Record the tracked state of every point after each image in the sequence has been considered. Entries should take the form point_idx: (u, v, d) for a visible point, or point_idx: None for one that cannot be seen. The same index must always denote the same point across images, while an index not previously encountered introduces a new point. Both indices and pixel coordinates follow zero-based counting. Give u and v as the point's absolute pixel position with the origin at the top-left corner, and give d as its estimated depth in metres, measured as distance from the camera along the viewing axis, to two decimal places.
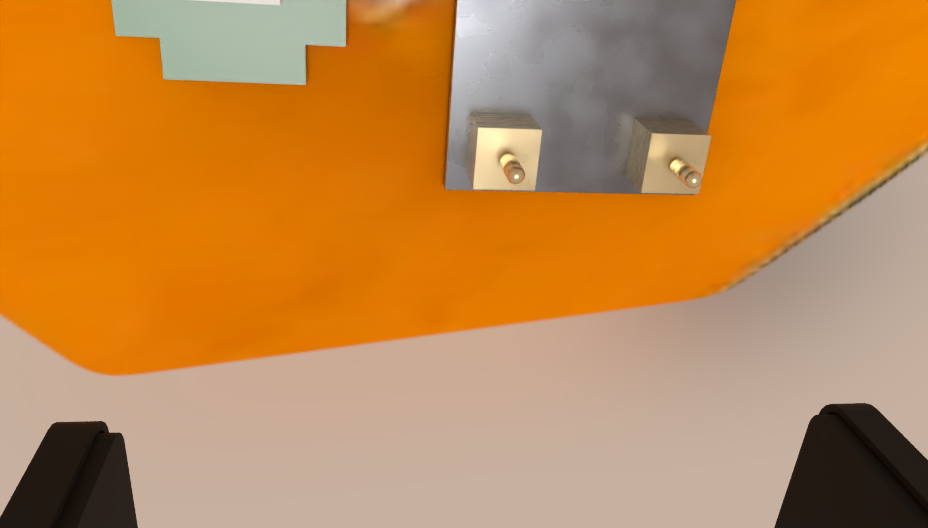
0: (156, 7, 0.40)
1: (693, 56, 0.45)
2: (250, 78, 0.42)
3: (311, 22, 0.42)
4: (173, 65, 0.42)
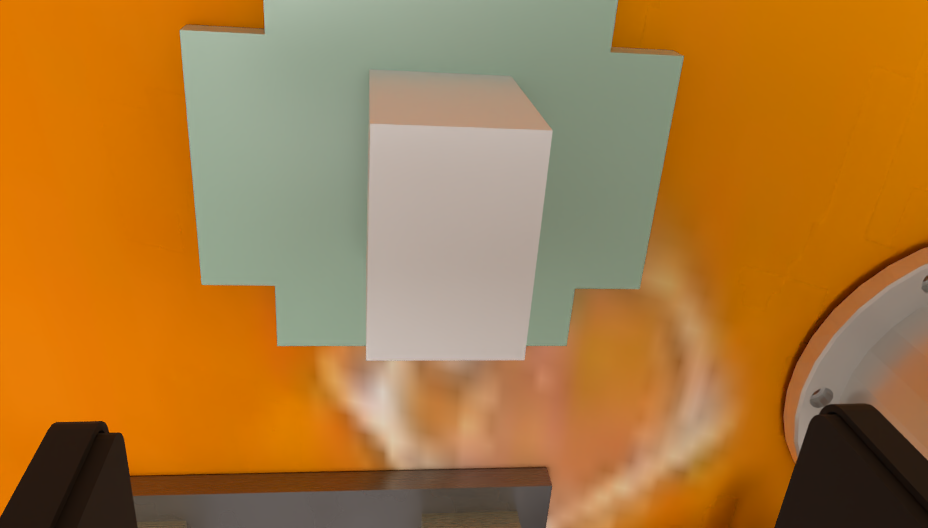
0: (324, 37, 0.21)
1: None
2: (202, 194, 0.22)
3: (313, 295, 0.24)
4: (210, 53, 0.21)
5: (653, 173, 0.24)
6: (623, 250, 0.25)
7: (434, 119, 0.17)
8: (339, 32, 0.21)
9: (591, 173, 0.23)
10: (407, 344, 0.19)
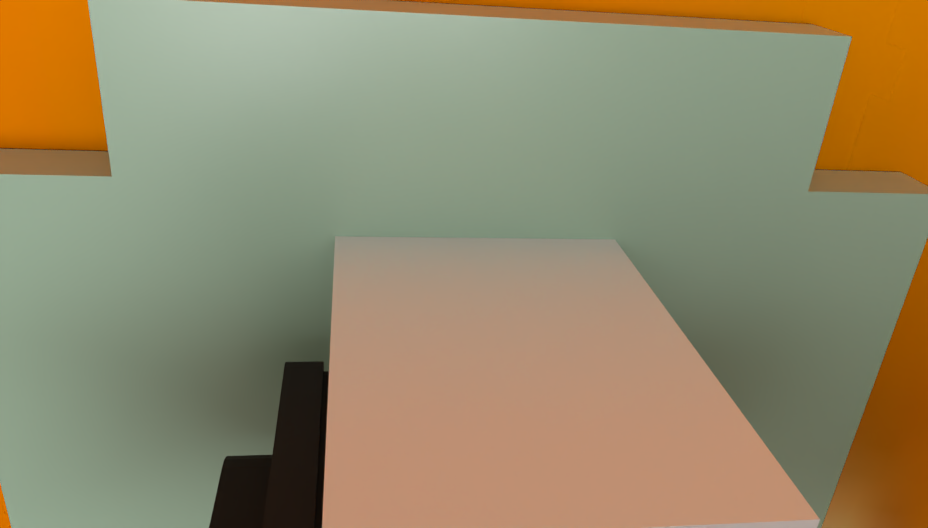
0: (238, 178, 0.10)
1: None
2: (13, 464, 0.12)
3: None
4: None
5: (857, 391, 0.13)
6: None
7: (498, 485, 0.06)
8: (271, 169, 0.10)
9: (748, 396, 0.13)
10: None
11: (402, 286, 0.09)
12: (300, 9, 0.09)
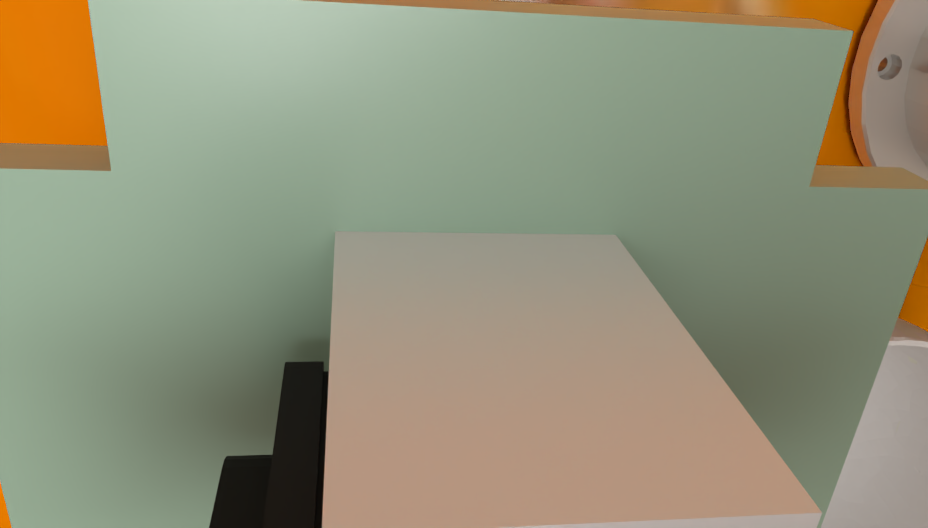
0: (239, 173, 0.10)
1: None
2: (13, 461, 0.12)
3: None
4: None
5: (858, 387, 0.13)
6: None
7: (499, 478, 0.06)
8: (270, 163, 0.10)
9: (749, 392, 0.13)
10: None
11: (402, 281, 0.09)
12: (300, 3, 0.09)
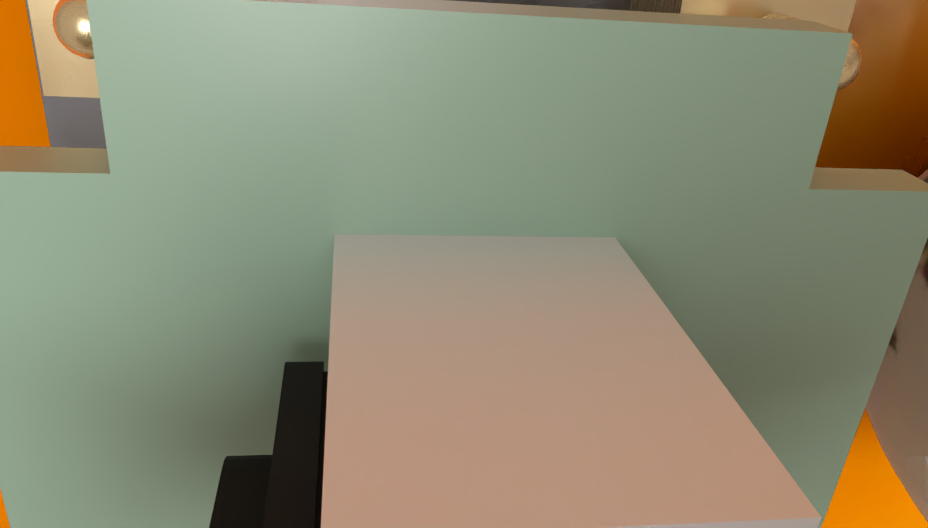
0: (237, 176, 0.10)
1: None
2: (11, 464, 0.11)
3: None
4: None
5: (858, 389, 0.13)
6: None
7: (498, 482, 0.06)
8: (270, 166, 0.10)
9: (749, 394, 0.13)
10: None
11: (401, 284, 0.09)
12: (299, 6, 0.09)
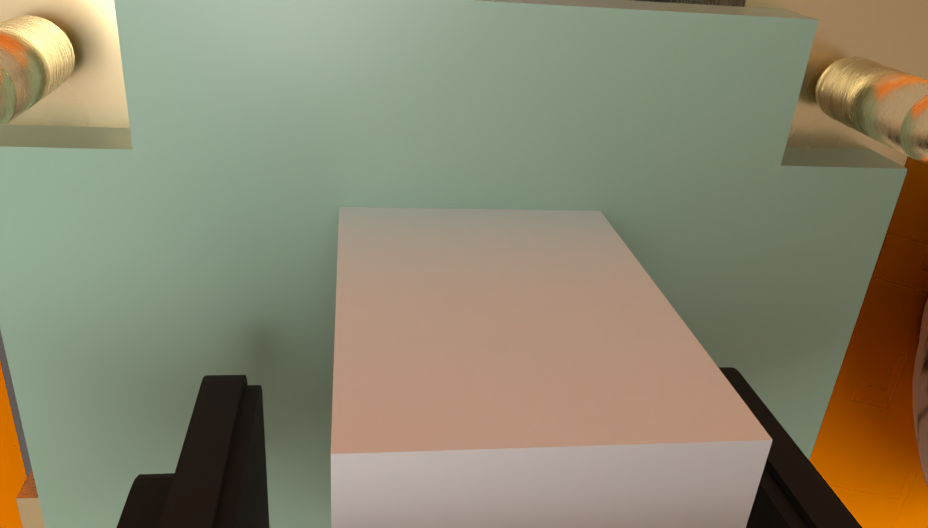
0: (249, 152, 0.11)
1: None
2: (38, 423, 0.12)
3: None
4: (26, 187, 0.11)
5: (831, 357, 0.14)
6: None
7: (487, 410, 0.07)
8: (279, 142, 0.11)
9: (728, 361, 0.14)
10: None
11: (401, 249, 0.10)
12: None
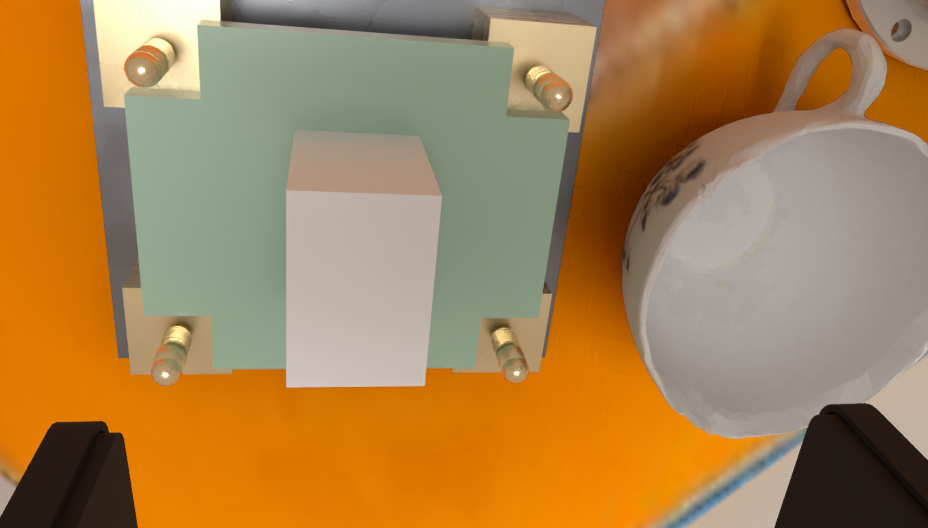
0: (253, 102, 0.24)
1: None
2: (144, 236, 0.25)
3: (246, 324, 0.27)
4: (151, 115, 0.23)
5: (547, 218, 0.27)
6: (523, 284, 0.28)
7: (342, 185, 0.20)
8: (267, 98, 0.24)
9: (492, 218, 0.27)
10: (322, 373, 0.22)
11: (320, 144, 0.23)
12: (280, 32, 0.23)
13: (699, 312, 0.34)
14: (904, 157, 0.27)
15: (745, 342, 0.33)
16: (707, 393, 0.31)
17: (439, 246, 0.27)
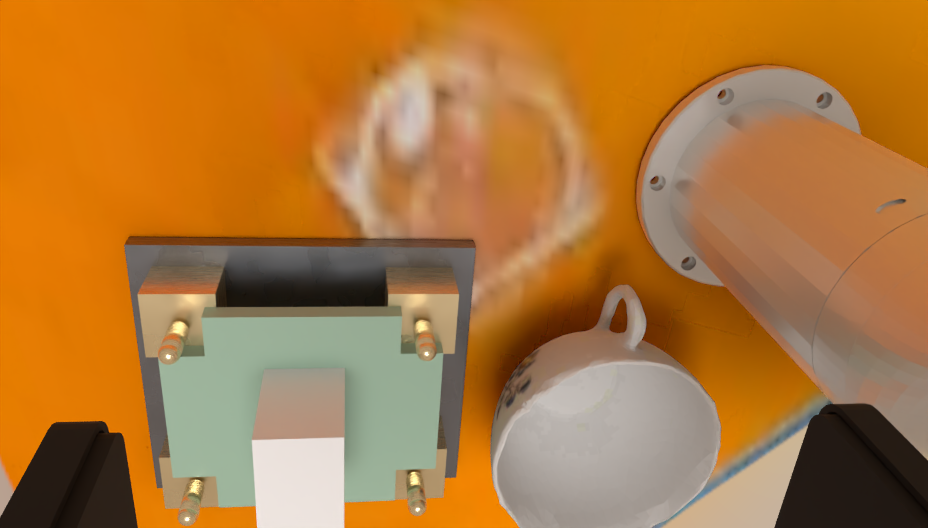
0: (237, 355, 0.38)
1: None
2: (172, 432, 0.40)
3: (239, 480, 0.41)
4: (174, 366, 0.38)
5: (434, 409, 0.41)
6: (422, 449, 0.42)
7: (285, 431, 0.34)
8: (246, 353, 0.38)
9: (397, 411, 0.41)
10: None
11: (278, 385, 0.37)
12: (252, 317, 0.37)
13: (563, 447, 0.47)
14: None
15: (594, 470, 0.47)
16: (558, 513, 0.45)
17: (363, 429, 0.41)
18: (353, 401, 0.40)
